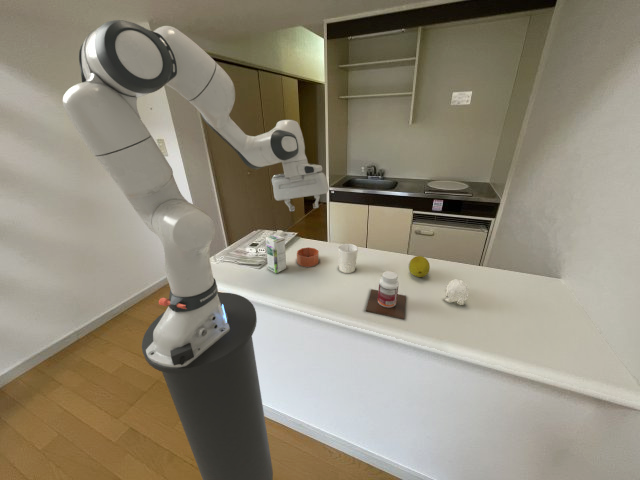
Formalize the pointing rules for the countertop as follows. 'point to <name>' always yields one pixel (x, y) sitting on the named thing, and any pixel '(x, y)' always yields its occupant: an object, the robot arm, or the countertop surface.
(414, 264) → the lemon
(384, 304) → the pill bottle
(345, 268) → the white cup
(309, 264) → the orange round bowl
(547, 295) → the countertop surface
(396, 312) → the walnut board
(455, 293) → the white lumpy piece
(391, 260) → the countertop surface
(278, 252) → the syrup box
